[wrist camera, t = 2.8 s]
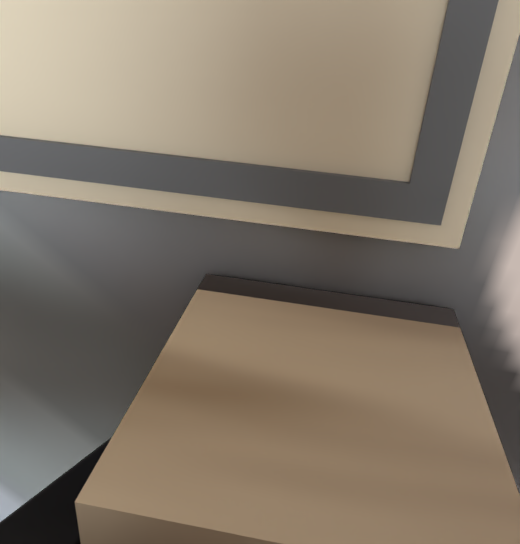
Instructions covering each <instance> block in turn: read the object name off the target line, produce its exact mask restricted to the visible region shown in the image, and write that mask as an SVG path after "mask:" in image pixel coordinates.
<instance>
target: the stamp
mask: <svg viewBox="0 0 520 544" xmlns="http://www.w3.org/2000/svg"><path fill="white" fill-rule="evenodd" d="M75 508H76V515H77V522H78V528H79V535H80V542H81V544H520V494H519V492H518V489H517V486H516V483H515V480H514V478H513V475H512V472H511V469H510V466H509V464H508V461H507V458H506V455H505V452H504V450H503V447H502V444H501V441H500V438H499V435H498V433H497V430H496V427H495V424H494V421H493V419H492V416H491V413H490V410H489V407H488V405H487V402H486V399H485V396H484V393H483V391H482V388H481V385H480V382H479V379H478V376H477V374H476V371H475V368H474V365H473V362H472V360H471V357H470V354H469V351H468V348H467V346H466V343H465V340H464V337H463V334H462V332H461V329H460V326H459V323H458V320H457V318H456V315H455V312H454V309H448V308H441V307H434V306H427V305H420V304H413V303H406V302H399V301H392V300H385V299H378V298H371V297H364V296H357V295H350V294H343V293H336V292H329V291H322V290H315V289H308V288H301V287H294V286H287V285H280V284H273V283H266V282H259V281H252V280H245V279H238V278H231V277H224V276H217V275H210V274H206V275H205V277H204V278H203V280H202V282H201V284H200V285H199V287H198V289H197V290H196V292H195V294H194V296H193V297H192V299H191V301H190V303H189V304H188V306H187V308H186V310H185V311H184V313H183V315H182V316H181V318H180V320H179V322H178V323H177V325H176V327H175V329H174V330H173V332H172V334H171V336H170V337H169V339H168V341H167V343H166V344H165V346H164V348H163V349H162V351H161V353H160V355H159V356H158V358H157V360H156V362H155V363H154V365H153V367H152V369H151V370H150V372H149V374H148V375H147V377H146V379H145V381H144V382H143V384H142V386H141V388H140V389H139V391H138V393H137V395H136V396H135V398H134V400H133V401H132V403H131V405H130V407H129V408H128V410H127V412H126V414H125V415H124V417H123V419H122V421H121V422H120V424H119V426H118V428H117V429H116V431H115V433H114V434H113V436H112V438H111V440H110V441H109V443H108V445H107V447H106V448H105V450H104V452H103V454H102V455H101V457H100V459H99V460H98V462H97V464H96V466H95V467H94V469H93V471H92V473H91V474H90V476H89V478H88V480H87V481H86V483H85V485H84V486H83V488H82V490H81V492H80V493H79V495H78V497H77V499H76V500H75Z"/></svg>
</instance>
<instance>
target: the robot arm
mask: <svg viewBox="0 0 520 544" xmlns="http://www.w3.org/2000/svg"><path fill="white" fill-rule="evenodd" d="M111 438H112V437H111ZM111 438H110V439H109V440H107V441H106V442H105V443H103V444H102V445H101V446H99V447H98V448H97V449H96V450H94V451H93V452H92V453H90V454H89V455H88V456H86V457H85V458H84V459H82V460H81V461H80V462H79V463H77V464H76V465H75V466H73V467H72V468H71V469H69V470H68V471H67V472H65V473H64V474H63V475H62V476H60V477H59V478H58V479H56V480H55V481H54V482H52V483H51V484H50V485H48V486H47V487H46V488H44V489H43V490H42V491H41V492H39V493H38V494H37V495H35V496H34V497H33V498H31V499H30V500H29V501H27V502H26V503H25V504H24V505H22V506H21V507H20V508H18V509H17V510H16V511H14V512H13V513H12V514H10V515H9V516H8V517H7V518H5V519H4V520H3V521H1V522H0V544H81V542H80V535H79V528H78V522H77V515H76V508H75V500H76V499H77V497H78V495H79V493H80V492H81V490H82V488H83V486H84V485H85V483H86V481H87V480H88V478H89V476H90V474H91V473H92V471H93V469H94V467H95V466H96V464H97V462H98V460H99V459H100V457H101V455H102V454H103V452H104V450H105V448H106V447H107V445H108V443H109V441H110V440H111Z"/></svg>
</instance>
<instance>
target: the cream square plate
mask: <svg viewBox="0 0 520 544" xmlns="http://www.w3.org/2000/svg"><path fill="white" fill-rule="evenodd" d="M519 34H520V0H0V190H3V191H10V192H18V193H26V194H34V195H42V196H50V197H57V198H65V199H73V200H81V201H89V202H96V203H104V204H112V205H120V206H128V207H135V208H143V209H151V210H159V211H167V212H174V213H182V214H190V215H198V216H206V217H213V218H221V219H229V220H237V221H245V222H252V223H260V224H268V225H276V226H284V227H291V228H299V229H307V230H315V231H323V232H330V233H338V234H346V235H354V236H362V237H369V238H377V239H385V240H393V241H401V242H408V243H416V244H424V245H432V246H440V247H447V248H455V249H459V248H460V244H461V240H462V237H463V233H464V230H465V226H466V223H467V219H468V216H469V212H470V208H471V205H472V201H473V198H474V194H475V191H476V187H477V184H478V180H479V177H480V173H481V169H482V166H483V162H484V159H485V155H486V152H487V148H488V145H489V141H490V137H491V134H492V130H493V127H494V123H495V120H496V116H497V113H498V109H499V105H500V102H501V98H502V95H503V91H504V88H505V84H506V81H507V77H508V73H509V70H510V66H511V63H512V59H513V56H514V52H515V49H516V45H517V41H518V38H519Z"/></svg>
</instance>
